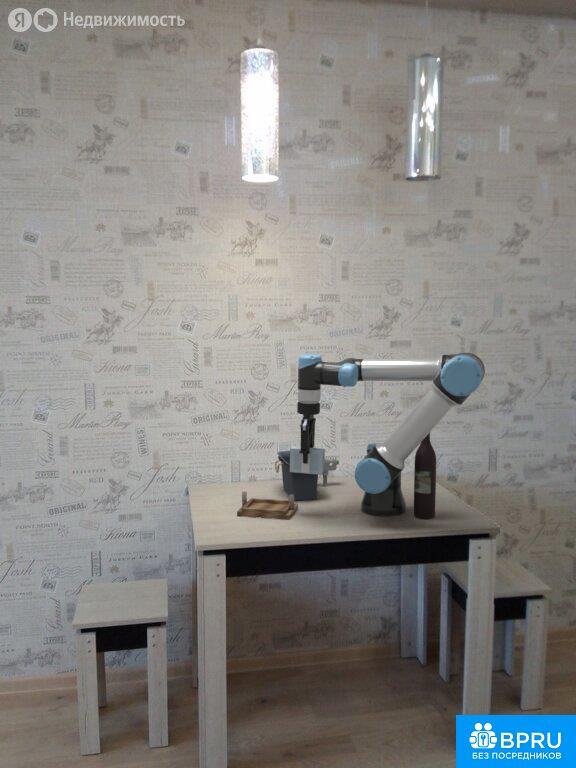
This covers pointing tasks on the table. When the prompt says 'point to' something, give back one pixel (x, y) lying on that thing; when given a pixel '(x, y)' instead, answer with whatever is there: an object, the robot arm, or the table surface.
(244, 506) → the brown wooden shallow tray
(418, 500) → the wine bottle
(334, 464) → the mechanical component
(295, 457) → the pale blue rounded block
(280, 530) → the table surface
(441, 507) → the table surface
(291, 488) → the storage bin
